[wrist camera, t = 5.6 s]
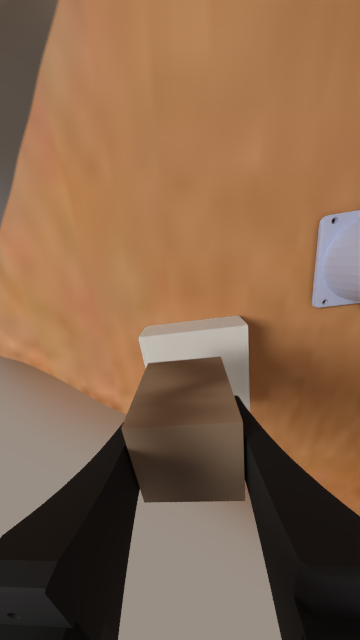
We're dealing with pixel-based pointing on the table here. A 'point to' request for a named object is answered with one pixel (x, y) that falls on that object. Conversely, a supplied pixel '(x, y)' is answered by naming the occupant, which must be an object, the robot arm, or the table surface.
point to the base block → (203, 347)
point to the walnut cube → (186, 433)
